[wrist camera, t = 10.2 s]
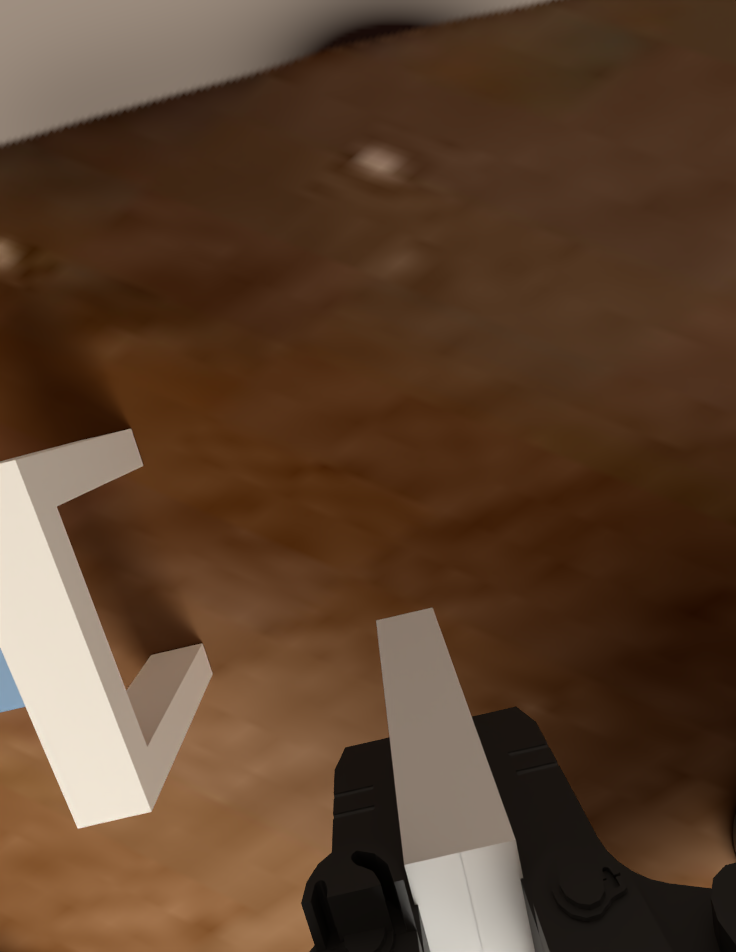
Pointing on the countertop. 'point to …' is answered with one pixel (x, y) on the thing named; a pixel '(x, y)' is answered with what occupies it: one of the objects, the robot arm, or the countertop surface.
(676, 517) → the countertop surface
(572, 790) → the robot arm
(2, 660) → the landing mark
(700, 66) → the countertop surface
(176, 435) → the countertop surface
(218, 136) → the countertop surface
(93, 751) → the bridge
